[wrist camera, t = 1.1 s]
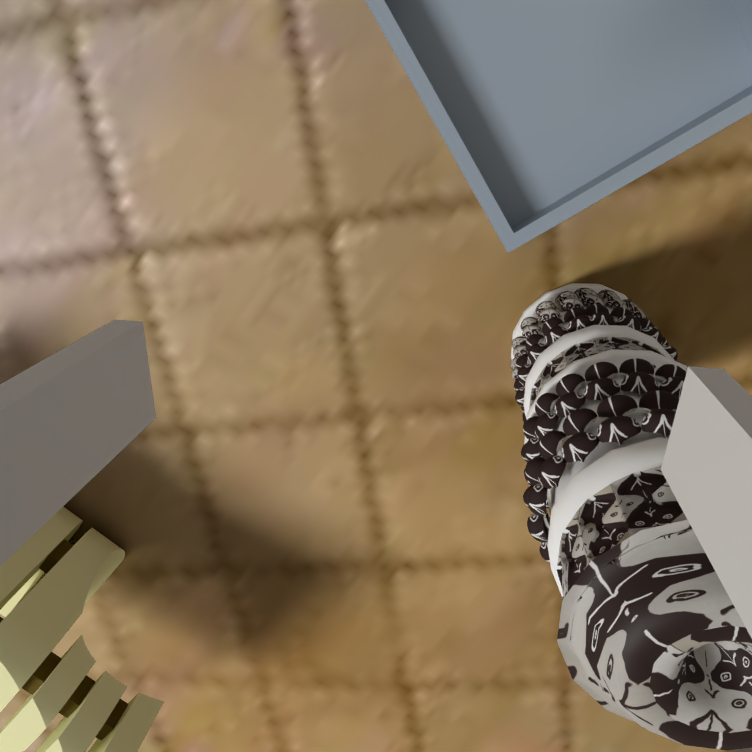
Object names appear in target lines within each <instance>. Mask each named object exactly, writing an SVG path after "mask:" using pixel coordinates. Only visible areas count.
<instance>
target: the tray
mask: <svg viewBox="0 0 752 752" xmlns="http://www.w3.org/2000/svg"><path fill="white" fill-rule="evenodd" d="M365 1H366V3H367V5H368V6H369V8H370V10H371V12H372V13H373V15H374V17H375V19H376V21H377V22H378V24H379V26H380V28H381V29H382V31H383V33H384V35H385V36H386V38H387V40H388V42H389V44H390V45H391V47H392V49H393V51H394V52H395V54H396V56H397V58H398V60H399V61H400V63H401V65H402V67H403V68H404V70H405V72H406V74H407V75H408V77H409V79H410V81H411V83H412V84H413V86H414V88H415V90H416V91H417V93H418V95H419V97H420V98H421V100H422V102H423V104H424V106H425V107H426V109H427V111H428V113H429V114H430V116H431V118H432V120H433V121H434V123H435V125H436V127H437V129H438V130H439V132H440V134H441V136H442V137H443V139H444V141H445V143H446V144H447V146H448V148H449V150H450V152H451V153H452V155H453V157H454V159H455V160H456V162H457V164H458V166H459V167H460V169H461V171H462V173H463V175H464V176H465V178H466V180H467V182H468V183H469V185H470V187H471V189H472V190H473V192H474V194H475V196H476V198H477V199H478V201H479V203H480V205H481V206H482V208H483V210H484V212H485V213H486V215H487V217H488V219H489V221H490V222H491V224H492V226H493V228H494V229H495V231H496V233H497V235H498V236H499V238H500V240H501V242H502V244H503V245H504V247H505V249H506V251H507V252H508V253H509V252H511V251H512V250H514V249H516V248H518V247H519V246H521V245H523V244H525V243H526V242H528V241H530V240H531V239H533V238H535V237H537V236H538V235H540V234H542V233H544V232H545V231H547V230H549V229H551V228H552V227H554V226H556V225H557V224H559V223H561V222H563V221H564V220H566V219H568V218H570V217H571V216H573V215H575V214H576V213H578V212H580V211H582V210H583V209H585V208H587V207H589V206H590V205H592V204H594V203H596V202H597V201H599V200H601V199H602V198H604V197H606V196H608V195H609V194H611V193H613V192H615V191H616V190H618V189H620V188H622V187H623V186H625V185H627V184H628V183H630V182H632V181H634V180H635V179H637V178H639V177H641V176H642V175H644V174H646V173H647V172H649V171H651V170H653V169H654V168H656V167H658V166H660V165H661V164H663V163H665V162H667V161H668V160H670V159H672V158H673V157H675V156H677V155H679V154H680V153H682V152H684V151H686V150H687V149H689V148H691V147H693V146H694V145H696V144H698V143H699V142H701V141H703V140H705V139H706V138H708V137H710V136H712V135H713V134H715V133H717V132H718V131H720V130H722V129H724V128H725V127H727V126H729V125H731V124H732V123H734V122H736V121H738V120H739V119H741V118H743V117H744V116H746V115H748V114H750V113H751V112H752V0H365Z"/></svg>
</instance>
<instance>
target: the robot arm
mask: <svg viewBox="0 0 752 752" xmlns="http://www.w3.org/2000/svg"><path fill="white" fill-rule="evenodd" d="M155 418H156V415H155V408H154V401H153V393H152V386H151V378H150V371H149V364H148V356H147V349H146V341H145V334H144V327H143V322H139V321H126V320H113V321H111V322H109V323H108V324H106V325H104V326H102V327H100V328H99V329H97V330H95V331H93V332H92V333H90V334H88V335H86V336H85V337H83V338H81V339H79V340H78V341H76V342H74V343H72V344H70V345H69V346H67V347H65V348H63V349H62V350H60V351H58V352H56V353H55V354H53V355H51V356H49V357H47V358H46V359H44V360H42V361H40V362H39V363H37V364H35V365H33V366H32V367H30V368H28V369H26V370H24V371H23V372H21V373H19V374H17V375H16V376H14V377H12V378H10V379H9V380H7V381H5V382H3V383H1V384H0V566H1V565H2V564H3V563H4V562H5V561H6V560H7V559H8V558H10V557H11V556H12V555H13V554H14V553H15V552H16V551H17V550H18V549H19V548H20V547H21V546H22V545H23V544H24V543H25V542H26V541H27V540H28V539H29V538H31V537H32V536H33V535H34V534H35V533H36V532H37V531H38V530H39V529H40V528H41V527H42V526H43V525H44V524H45V523H46V522H47V521H48V520H49V519H50V518H52V517H53V516H54V515H55V514H56V513H57V512H58V511H59V510H60V509H61V508H62V507H63V506H64V505H65V504H66V503H67V502H68V501H69V500H70V499H71V498H73V497H74V496H75V495H76V494H77V493H78V492H79V491H80V490H81V489H82V488H83V487H84V486H85V485H86V484H87V483H88V482H89V481H90V480H91V479H92V478H94V477H95V476H96V475H97V474H98V473H99V472H100V471H101V470H102V469H103V468H104V467H105V466H106V465H107V464H108V463H109V462H110V461H111V460H112V459H113V458H115V457H116V456H117V455H118V454H119V453H120V452H121V451H122V450H123V449H124V448H125V447H126V446H127V445H128V444H129V443H130V442H131V441H132V440H133V439H134V438H136V437H137V436H138V435H139V434H140V433H141V432H142V431H143V430H144V429H145V428H146V427H147V426H148V425H149V424H150V423H151V422H152V421H153V420H154V419H155ZM661 471H662V473H663V475H664V477H665V479H666V481H667V482H668V484H669V486H670V488H671V490H672V492H673V494H674V495H675V497H676V499H677V501H678V503H679V505H680V507H681V508H682V510H683V512H684V514H685V516H686V518H687V520H688V521H689V523H690V525H691V527H692V529H693V531H694V533H695V534H696V536H697V538H698V540H699V542H700V544H701V546H702V547H703V549H704V551H705V553H706V555H707V557H708V559H709V560H710V562H711V564H712V566H713V568H714V570H715V572H716V573H717V575H718V577H719V579H720V581H721V583H722V585H723V586H724V588H725V590H726V592H727V594H728V596H729V598H730V599H731V601H732V603H733V605H734V607H735V609H736V610H737V612H738V614H739V616H740V618H741V620H742V622H743V623H744V625H745V627H746V629H747V631H748V633H749V635H750V636H751V638H752V396H751V395H750V394H749V393H748V392H747V391H746V390H745V389H744V388H743V387H742V386H741V385H740V384H739V383H738V382H737V381H736V380H734V379H733V378H732V377H731V376H730V375H729V374H728V373H727V372H726V371H725V370H724V369H716V368H703V367H691V366H688V369H687V373H686V377H685V380H684V384H683V388H682V392H681V395H680V399H679V403H678V407H677V410H676V414H675V418H674V422H673V425H672V429H671V433H670V436H669V440H668V444H667V448H666V451H665V455H664V459H663V463H662V466H661Z"/></svg>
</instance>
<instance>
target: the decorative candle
mask: <svg viewBox="0 0 752 752" xmlns="http://www.w3.org/2000/svg"><path fill="white" fill-rule="evenodd" d="M511 359H512V361H511V364H510V366H511V368H512V369H513V371H512V374H511V375H512V377H513V379H515V380H516V381H515V383H514V389H515V390H516V392H517V393H516V397H515V399H516V401H517V403H518V404H519V405H520V406H521V408H522V410H523V421H524V425H523V431H524V434H525V441H524V446H523V447H522V450H521V455H522V457H523V458H524V460H525V461H526V462H528V463H527V465H526V468H525V470H524V475H525V479H526V481H527V482H528V483H529V484H530V485H531V486H530V487H528V488H527V489H526V491H525V493H524V495H523V499H524V502H525V504H526V505H527V507H528V508H529V509H530V510H531V511H532V513H534V514H532V515H531V516H530V517H529V518H528V521H527V526H528V530H529V532H530V534H531V535H532V536H533V538H535V539H536V540H538V541H540V542H541V545H540V554H541V556H542V557H543V558H544V559H545V560H546V561H548V562H550V564H551V570H552V573H553V575H554V578H555V580H556V583H557V585H558V588H559V590H560V593H561V595H562V608H561V616H560V623H559V630H558V638H557V642H558V645H559V647H560V650H561V652H562V655H563V657H564V659H565V662H566V664H567V667H568V669H569V671H570V674H571V676H572V679H573V680H574V681H575V682H576V683H577V684H578V685H580V686H581V687H582V688H583V689H584V690H585V691H586V692H587V693H588V694H589V695H591V696H592V697H593V698H594V699H595V700H596V701H597V702H598V703H599V704H601V705H602V706H603V707H604V708H605V709H606V710H608V711H610V712H612V713H615V714H617V715H620V716H622V717H624V718H627V719H629V720H632V721H634V722H636V723H638V724H639V725H641V726H642V727H643V728H645V729H647V730H649V731H652V732H654V733H656V734H659V735H661V736H664V737H666V738H668V739H671V740H673V741H676V742H678V743H680V744H683V745H689V746H697V747H705V748H713V749H721V750H735V749H743V748H751V747H752V638H751V636H750V635H749V633H748V631H747V629H746V627H745V625H744V623H743V622H742V620H741V618H740V616H739V614H738V612H737V610H736V609H735V607H734V605H733V603H732V601H731V599H730V598H729V596H728V594H727V592H726V590H725V588H724V586H723V585H722V583H721V581H720V579H719V577H718V575H717V573H716V572H715V570H714V568H713V566H712V564H711V562H710V560H709V559H708V557H707V555H706V553H705V551H704V549H703V547H702V546H701V544H700V542H699V540H698V538H697V536H696V534H695V533H694V531H693V529H692V527H691V525H690V523H689V521H688V520H687V518H686V516H685V514H684V512H683V510H682V508H681V507H680V505H679V503H678V501H677V499H676V497H675V495H674V494H673V492H672V490H671V488H670V486H669V484H668V482H667V481H666V479H665V477H664V475H663V473H662V471H661V466H662V463H663V459H664V455H665V451H666V448H667V444H668V440H669V436H670V433H671V429H672V425H673V422H674V418H675V414H676V410H677V407H678V403H679V399H680V395H681V392H682V388H683V384H684V380H685V377H686V373H687V369H688V367H687V366H686V365H683V364H681V363H679V362H676V361H677V351H676V349H675V348H673V347H671V346H668V342H667V340H666V339H665V338H664V337H662V334H661V332H660V331H659V330H658V328H657V327H656V326H654V325H653V324H652V323H651V321H650V319H648V318H647V317H646V316H645V314H644V312H643V311H642V310H641V309H640V308H638V306H637V305H636V303H635V302H633V301H632V300H630V299H628V298H627V297H626V296H625V295H624V294H622V293H620V292H618V291H615V290H613V289H611V288H608V287H606V286H604V285H601V284H592V283H571V284H568V285H565V286H562V287H559V288H557V289H554V290H551V291H548V292H545V293H544V294H543V295H542V296H541V297H539V298H538V299H537V300H536V301H535V302H534V303H532V304H531V305H530V306H529V307H528V308H526V309H525V310H524V312H523V314H522V316H521V318H520V320H519V322H518V323H517V325H516V327H515V329H514V331H513V336H512V349H511ZM547 508H549V510H550V515H551V518H550V517H549V516H548V513H547Z"/></svg>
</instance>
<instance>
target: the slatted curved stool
mask: <svg viewBox="0 0 752 752" xmlns="http://www.w3.org/2000/svg"><path fill="white" fill-rule="evenodd" d="M82 522H83V520H81V519H80V518H78V517H77V516H76V515H74V514H73V513H72V512H70V511H69V510H67V509H66V508H65V507H62V508H61V509H60V510H59V511H58V512H57V513H56V514H55V515H54V516H53V517H52V518H50V519H49V520H48V521H47V522H46V523H45V524H44V525H43V526H42V527H41V528H40V529H39V530H38V531H37V532H36V533H35V534H34V535H33V536H32V537H31V538H29V539H28V540H27V541H26V542H25V543H24V544H23V545H22V546H21V547H20V548H19V549H18V550H17V551H16V552H15V553H14V554H13V555H12V556H11V557H10V558H8V559H7V560H6V561H5V562H4V563H3V564H2V565H1V566H0V614H1V615H3V616H4V617H5V618H4V619H3V618H1V617H0V712H1V711H2V709H3V708H4V707H5V706H6V705H7V704H8V703H9V701H10V700H11V699H12V698H13V697H14V696H15V695H16V694H17V692H18V691H19V690H20V689H21V688H23V689H24V690H26V691H27V692H29V693H30V694H31V695H30V696H29V697H28V698H27V700H26V701H25V702H24V703H23V704H22V706H21V707H20V708H19V709H18V710H17V712H16V713H15V714H14V715H13V716H12V717H11V719H10V720H9V721H8V722H7V723H6V724H5V726H4V727H3V728H2V729H1V730H0V752H24V751H25V749H26V748H27V747H28V746H29V745H30V744H31V743H32V742H33V741H34V740H35V739H36V738H37V737H38V736H39V735H40V734H41V733H42V732H43V731H44V730H45V729H46V728H47V727H48V725H49V724H50V723H51V721H52V720H53V719H54V718H55V716H56V715H57V714H58V712H59V713H60V714H62V715H63V716H64V718H63V719H62V720H61V721H60V723H59V724H58V725H57V726H56V728H55V729H54V730H53V731H52V733H51V734H50V735H49V736H48V737H47V739H46V740H45V741H44V742H43V743H42V745H41V746H40V747H39V748H38V749H37V750H36V752H85V751H86V750H87V748H88V747H89V746H90V744H91V743H92V741H93V740H94V738H95V737H96V738H98V739H97V740H96V742H95V743H94V744H93V746H92V747H91V749H90V750H89V751H88V752H137V751H138V749H139V747H140V745H141V743H142V741H143V740H144V738H145V736H146V734H147V732H148V730H149V728H150V727H151V725H152V723H153V721H154V719H155V717H156V715H157V714H158V712H159V710H160V708H161V706H162V704H163V703H164V702H163V701H160V700H157V699H154V698H151V697H149V696H146V695H144V694H141V693H138V694H137V695H136V696H135V697H134V698H133V699H132V700H131V701H130V702H129V703H128V704H127V703H126V702H124V701H123V700H122V699H120V698H121V696H122V694H123V693H124V691H125V690H126V688H127V686H126V685H124V684H122V683H121V682H119V681H118V680H116V679H115V678H113V677H112V676H111V675H110V674H108V673H107V672H106V671H105V672H104V673H103V674H102V675H101V676H100V677H99V678H98V679H97V680H96V681H94V680H92V679H91V678H89V677H88V676H86V674H87V673H88V672H89V670H90V669H91V667H92V666H93V665H94V663H95V662H96V661H95V660H94V658H93V657H92V656H91V654H90V652H89V651H88V649H87V647H86V645H85V643H84V640H83V637H82V635H81V636H80V637H79V639H78V640H77V641H76V642H75V643H74V644H73V645H72V646H71V647H70V649H69V650H68V651H67V652H66V653H65V654H64V655H63V656H62V658H60V657H58V656H57V655H56V654H54V653H53V652H51V651H52V650H53V649H54V647H55V646H56V645H57V644H58V642H59V641H60V640H61V639H62V637H63V636H64V635H65V634H66V632H67V631H68V630H69V629H70V627H71V626H72V625H73V624H74V623H75V621H76V620H77V619H78V618H79V616H80V615H81V614H82V611H83V607H84V605H85V604H86V603H87V602H88V600H89V599H90V598H91V597H92V596H93V595H94V594H95V592H96V591H97V590H98V589H99V588H100V587H101V585H102V584H103V583H104V582H105V581H106V580H107V578H108V577H109V576H110V575H111V574H112V573H113V572H114V570H115V569H116V568H117V567H118V566H119V565H120V563H121V562H122V561H123V559H124V557H125V551H124V550H122V549H121V548H120V547H118V546H117V545H116V544H114V543H113V542H111V541H110V540H109V539H107V538H106V537H105V536H103V535H102V534H100V533H99V532H98V531H96V530H95V529H94V528H91V529H90V530H88V531H87V532H86V533H85V534H84V535H83V536H82V537H81V538H80V540H79V541H78V542H77V543H76V544H75V545H72V544H71V543H69V542H68V541H69V540H70V539H71V537H72V536H73V535H74V533H75V532H76V531H77V530H78V528H79V527H80V526H81V524H82ZM44 572H45V573H46V575H45V576H44V577H43V578H42V579H41V580H40V582H39V583H38V584H37V585H36V586H35V587H34V588H33V589H32V587H33V586H34V585H35V584H36V582H37V581H38V580H39V578H40V577H41V576H42V575H43V573H44ZM31 589H32V590H31ZM30 590H31V591H30ZM29 591H30V592H29Z"/></svg>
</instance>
